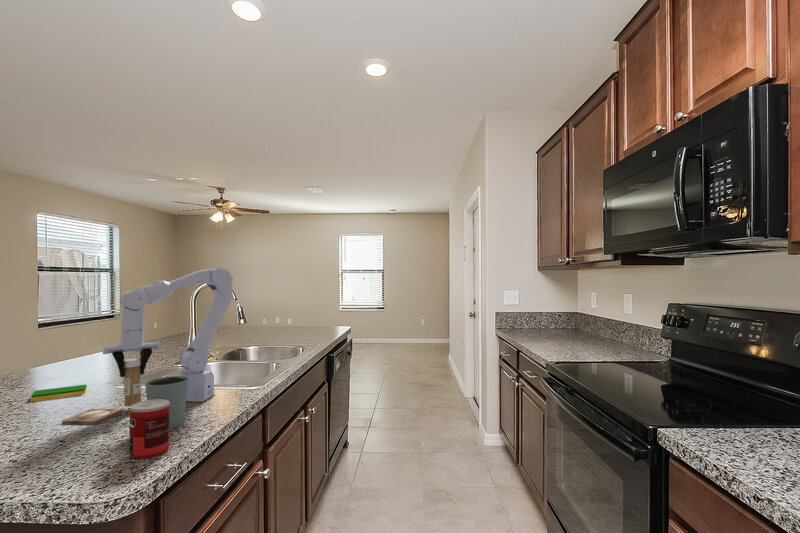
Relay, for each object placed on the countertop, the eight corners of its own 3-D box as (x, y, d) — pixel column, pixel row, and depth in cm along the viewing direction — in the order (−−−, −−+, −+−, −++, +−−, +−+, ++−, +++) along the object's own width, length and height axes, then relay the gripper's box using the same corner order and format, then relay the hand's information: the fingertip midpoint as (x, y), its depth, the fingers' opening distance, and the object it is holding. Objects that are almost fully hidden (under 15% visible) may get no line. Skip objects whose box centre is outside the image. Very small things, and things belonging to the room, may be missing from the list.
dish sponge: (34, 397, 135) (34, 390, 135) (86, 391, 143) (86, 384, 143) (30, 403, 129) (30, 395, 130) (85, 396, 137) (85, 388, 137)
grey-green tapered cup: (142, 434, 103) (143, 387, 103) (146, 421, 112) (147, 378, 112) (187, 427, 107) (188, 382, 108) (187, 415, 116) (188, 373, 117)
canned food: (140, 445, 96) (141, 399, 96) (175, 444, 96) (176, 398, 97) (121, 460, 88) (121, 409, 88) (159, 459, 89) (159, 408, 89)
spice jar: (142, 404, 121) (141, 359, 121) (124, 407, 118) (123, 362, 118) (141, 400, 125) (140, 357, 125) (123, 404, 122) (122, 359, 122)
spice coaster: (124, 411, 120) (124, 408, 120) (97, 424, 110) (97, 421, 110) (91, 411, 120) (91, 408, 120) (61, 423, 110) (62, 420, 110)
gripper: (157, 326, 130) (156, 369, 129) (101, 330, 120) (100, 376, 120) (162, 328, 125) (161, 373, 124) (104, 333, 115) (103, 381, 114)
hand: (132, 375), depth 122 cm, fingers closed on spice jar, 4 cm apart
